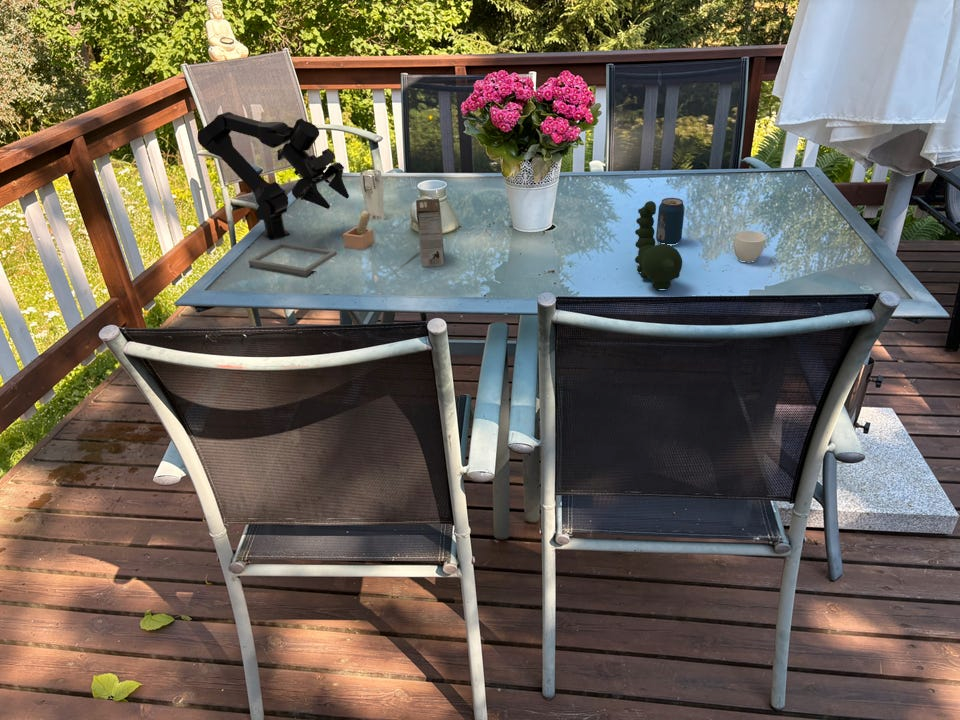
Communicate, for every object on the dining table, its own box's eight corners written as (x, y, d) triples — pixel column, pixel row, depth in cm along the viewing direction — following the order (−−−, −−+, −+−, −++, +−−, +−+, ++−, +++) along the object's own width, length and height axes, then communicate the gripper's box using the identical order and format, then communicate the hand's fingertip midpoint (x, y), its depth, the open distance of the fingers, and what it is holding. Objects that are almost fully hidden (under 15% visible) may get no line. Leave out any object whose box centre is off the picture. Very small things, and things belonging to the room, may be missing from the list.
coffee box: (421, 254, 199) (415, 199, 191) (443, 252, 199) (439, 197, 191) (421, 267, 191) (415, 210, 183) (445, 265, 192) (440, 209, 183)
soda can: (683, 239, 200) (687, 198, 193) (678, 248, 194) (682, 206, 188) (658, 236, 202) (662, 195, 196) (653, 245, 197) (656, 204, 191)
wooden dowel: (351, 246, 205) (348, 209, 199) (356, 243, 207) (353, 207, 201) (370, 250, 203) (367, 213, 197) (374, 247, 204) (371, 210, 198)
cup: (734, 266, 183) (738, 241, 179) (726, 251, 191) (729, 227, 188) (765, 265, 182) (769, 241, 179) (755, 250, 191) (759, 227, 187)
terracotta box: (345, 250, 204) (342, 234, 202) (357, 242, 209) (355, 226, 206) (363, 253, 202) (360, 236, 199) (374, 245, 207) (372, 229, 204)
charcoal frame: (249, 267, 197) (248, 260, 196) (282, 248, 208) (280, 242, 207) (306, 277, 189) (305, 270, 188) (337, 257, 200) (336, 251, 199)
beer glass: (383, 223, 222) (377, 176, 214) (362, 222, 223) (355, 175, 216) (390, 215, 228) (384, 169, 220) (369, 214, 229) (363, 169, 221)
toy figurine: (624, 267, 189) (650, 301, 167) (627, 197, 181) (654, 223, 158) (658, 265, 190) (689, 298, 167) (663, 195, 181) (696, 220, 159)
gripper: (292, 151, 187) (332, 195, 188) (333, 133, 201) (371, 175, 202) (275, 177, 194) (314, 220, 196) (316, 159, 208) (352, 198, 210)
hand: (338, 202), depth 201 cm, fingers open, 9 cm apart
